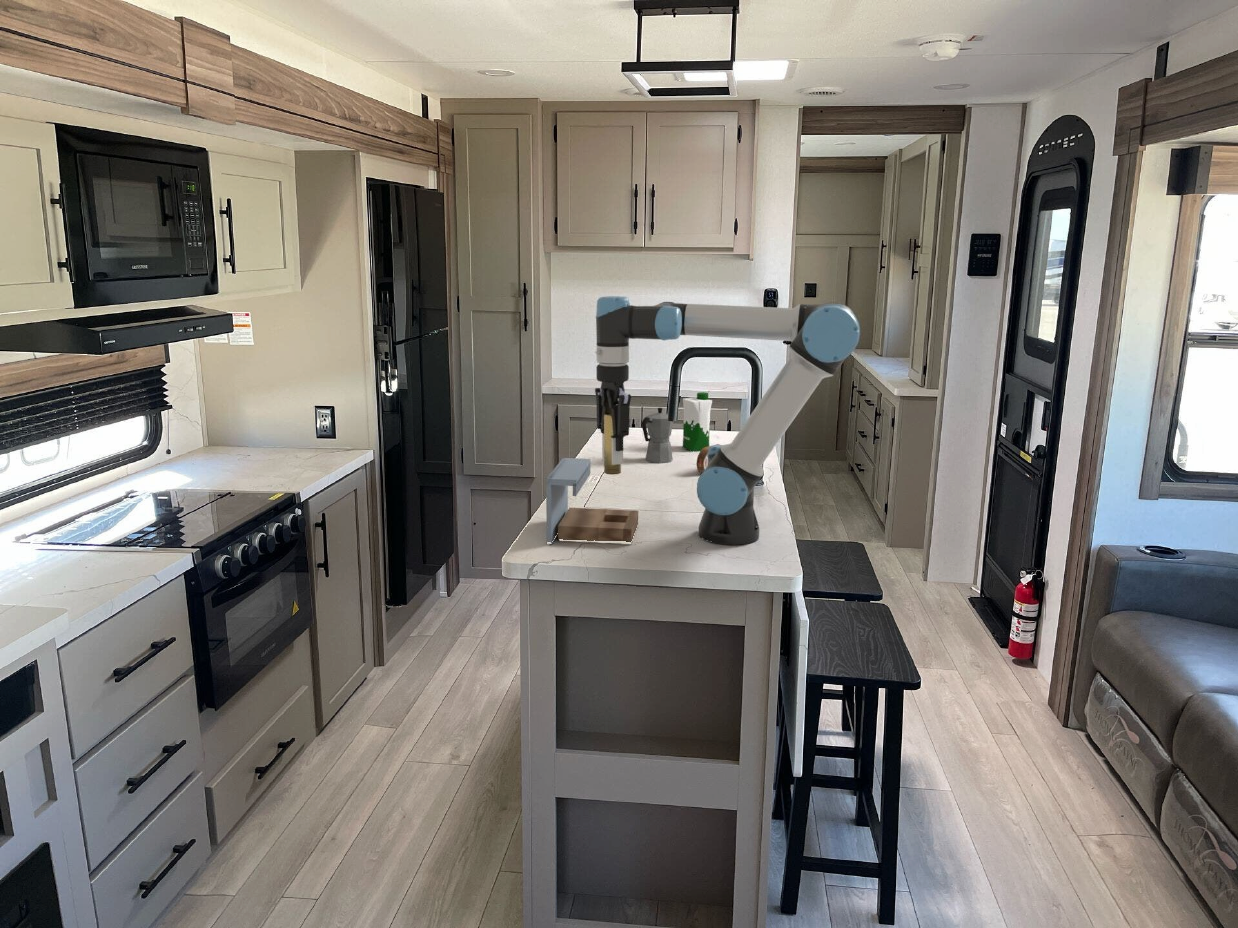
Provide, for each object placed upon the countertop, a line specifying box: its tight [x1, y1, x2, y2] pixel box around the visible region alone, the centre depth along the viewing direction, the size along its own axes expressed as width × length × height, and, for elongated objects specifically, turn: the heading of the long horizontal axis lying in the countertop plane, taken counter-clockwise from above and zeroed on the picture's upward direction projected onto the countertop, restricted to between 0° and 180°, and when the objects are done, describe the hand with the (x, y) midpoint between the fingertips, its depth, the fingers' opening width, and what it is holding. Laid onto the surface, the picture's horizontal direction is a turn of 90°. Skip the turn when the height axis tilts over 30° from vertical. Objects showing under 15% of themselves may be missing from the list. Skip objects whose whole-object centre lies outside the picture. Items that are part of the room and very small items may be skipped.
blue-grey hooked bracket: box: [545, 457, 591, 543], centre depth 229 cm, size 7×22×16 cm, turn 173°
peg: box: [603, 413, 622, 475], centre depth 216 cm, size 4×4×14 cm
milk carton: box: [682, 392, 713, 453], centre depth 324 cm, size 9×9×20 cm
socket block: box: [557, 507, 639, 542], centre depth 230 cm, size 18×16×4 cm
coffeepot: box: [641, 407, 674, 464], centre depth 306 cm, size 15×9×18 cm, turn 137°
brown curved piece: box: [696, 443, 721, 474], centre depth 293 cm, size 15×3×8 cm, turn 141°
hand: (612, 461), depth 218 cm, fingers closed on peg, 4 cm apart
